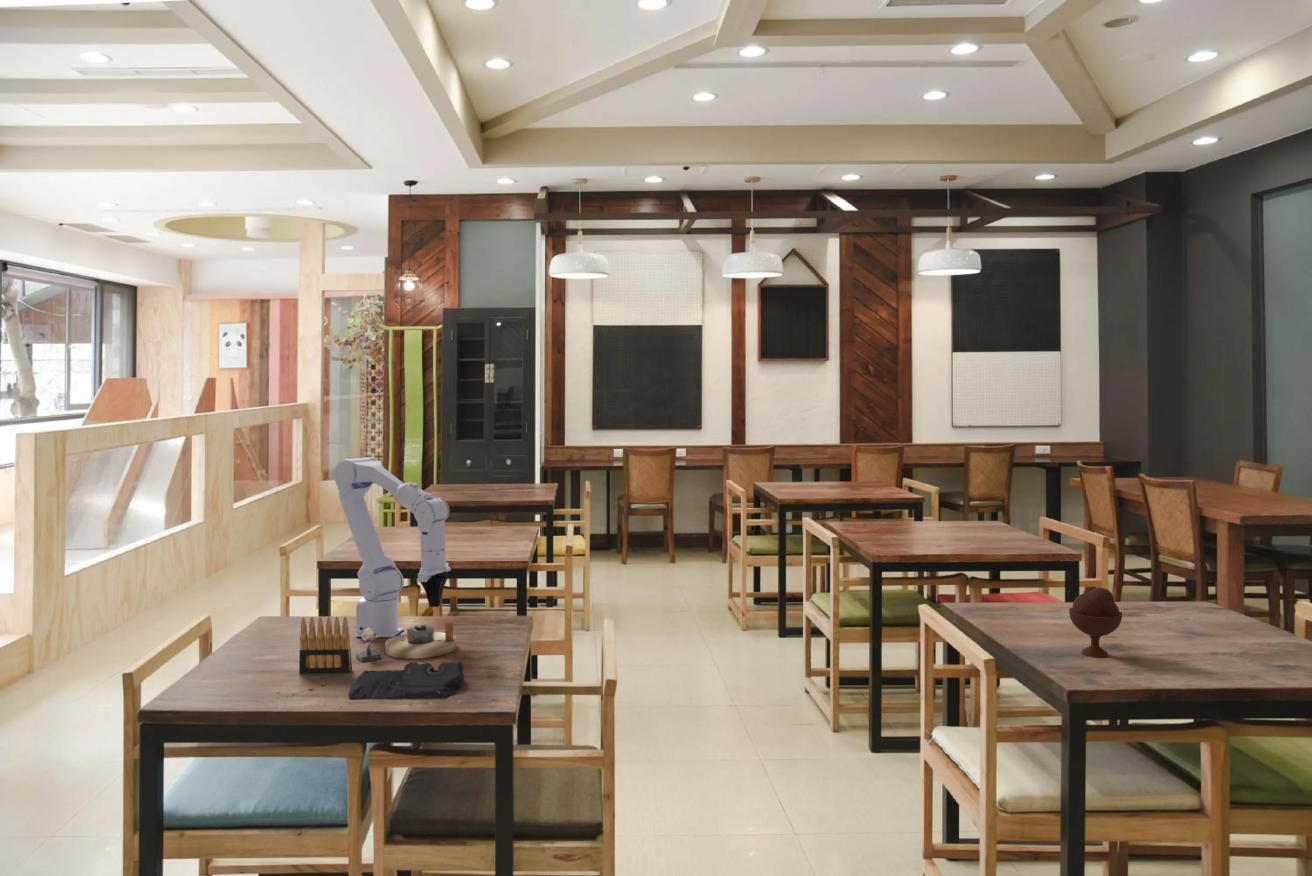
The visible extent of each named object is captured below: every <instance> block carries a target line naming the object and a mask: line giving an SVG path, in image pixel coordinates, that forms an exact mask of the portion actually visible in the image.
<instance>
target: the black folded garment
mask: <svg viewBox="0 0 1312 876" xmlns="http://www.w3.org/2000/svg"><path fill="white" fill-rule="evenodd" d="M464 683H465V674H464V665H463V663H462V662H461V661H457V662H442V663H440V664H439V665H438V670H436V669H435V668H434V666H433V665H432V664H431V663H430V662H424V663H417V662H409V663H407V664H405V666H404V667H403V669H401V670H400V669H399V670H398V669H394V670H389V669H388V670H386V669H385V670H363V672H361V674H359V675H358V676H357V677H356V679H355V680H354V681H353V683H352V685H351V686H350V689H349V693H348V699H349V700H353V701H354V700H355V701H356V700H357V701H358V700H359V701H361V700H363V701H364V700H416V699H417V700H421V699H447V698H449V697H453V696H456V693H457V692H458V690H460V689H461V688H462V687H463V684H464Z"/></svg>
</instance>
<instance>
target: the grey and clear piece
mask: <svg viewBox="0 0 1312 876" xmlns="http://www.w3.org/2000/svg"><path fill="white" fill-rule="evenodd" d="M361 638H362V640H363V641H364V642H365V646H366V647H365V648H366V650H365V651H360V652H355V658H357V660H358V661H360V662H361V663H362V662H370V661H376V660H381V659H382V653H381V652H379V651H378V650H376V649H371V647H372V646H371V643H372V642H373V641H374V640H375V639H377V638H385V637H384V635H383V634H380V635H376V632H375V631H374V630H373V629H371V628H367V629H365V630H364V631H363V633H362V637H361Z"/></svg>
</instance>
